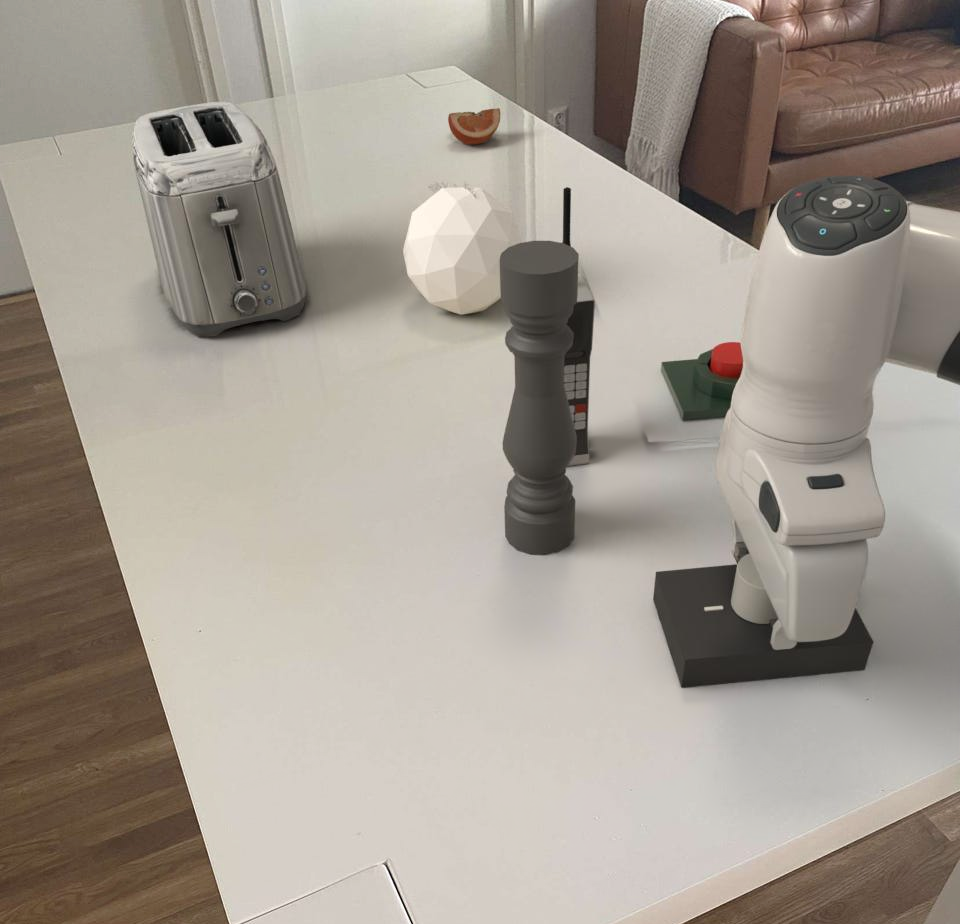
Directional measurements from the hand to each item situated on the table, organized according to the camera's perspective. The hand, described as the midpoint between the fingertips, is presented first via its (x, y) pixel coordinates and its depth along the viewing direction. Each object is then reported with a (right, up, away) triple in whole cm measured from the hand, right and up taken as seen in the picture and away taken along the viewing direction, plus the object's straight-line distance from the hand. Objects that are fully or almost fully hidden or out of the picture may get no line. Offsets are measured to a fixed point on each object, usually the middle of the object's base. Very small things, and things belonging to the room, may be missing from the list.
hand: (761, 599), depth 77 cm
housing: (+4, +22, +27) cm, 35 cm away
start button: (+4, +24, +25) cm, 35 cm away
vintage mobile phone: (-13, +15, +22) cm, 29 cm away
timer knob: (0, 0, 0) cm, 1 cm away
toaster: (-53, +41, +51) cm, 84 cm away
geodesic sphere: (-23, +37, +45) cm, 63 cm away
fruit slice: (-22, +77, +85) cm, 117 cm away
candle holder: (-16, +6, +13) cm, 22 cm away
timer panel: (0, -3, +3) cm, 4 cm away
